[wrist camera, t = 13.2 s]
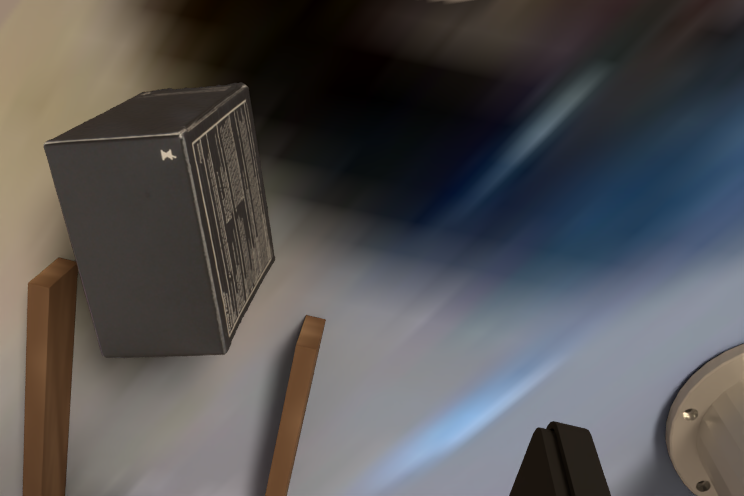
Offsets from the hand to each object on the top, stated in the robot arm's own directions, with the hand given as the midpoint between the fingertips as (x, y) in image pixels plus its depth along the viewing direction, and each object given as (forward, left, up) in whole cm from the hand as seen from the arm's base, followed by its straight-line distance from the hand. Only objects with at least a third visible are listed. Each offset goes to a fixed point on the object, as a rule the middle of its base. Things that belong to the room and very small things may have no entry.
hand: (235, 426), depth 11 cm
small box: (+8, +7, -29) cm, 30 cm away
